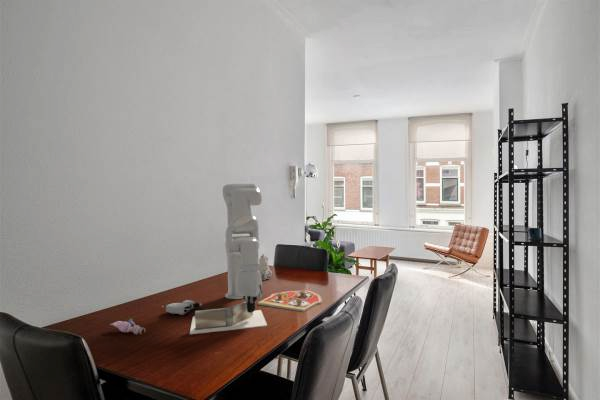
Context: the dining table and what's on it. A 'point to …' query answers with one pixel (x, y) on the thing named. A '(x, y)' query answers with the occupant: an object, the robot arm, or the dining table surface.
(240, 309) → the fence panel
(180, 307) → the robot toy
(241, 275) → the robot arm
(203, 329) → the card
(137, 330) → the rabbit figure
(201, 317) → the fence base
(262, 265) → the chinaware
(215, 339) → the dining table surface
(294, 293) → the knob puzzle
